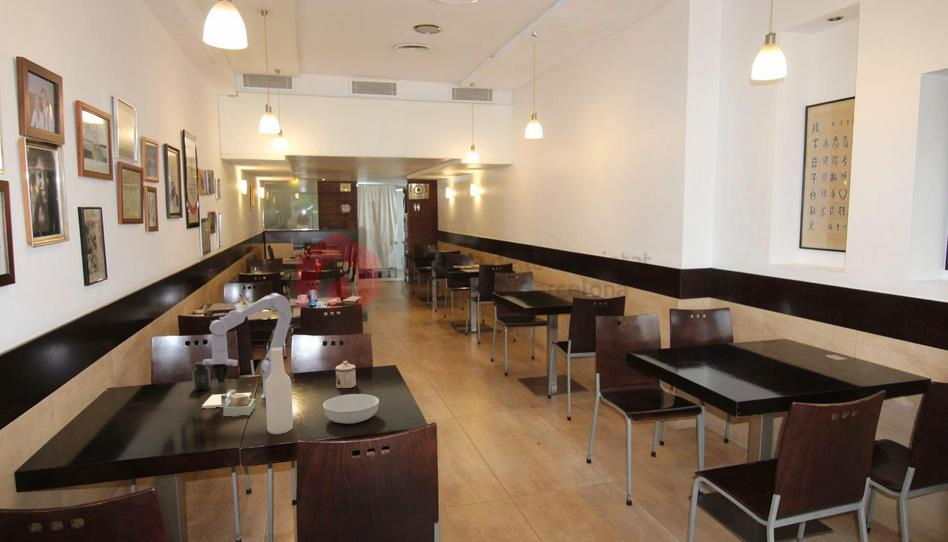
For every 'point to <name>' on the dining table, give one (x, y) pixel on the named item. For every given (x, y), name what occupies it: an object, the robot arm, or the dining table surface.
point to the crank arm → (227, 396)
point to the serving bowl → (351, 408)
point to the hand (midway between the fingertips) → (221, 382)
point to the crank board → (217, 401)
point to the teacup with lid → (345, 375)
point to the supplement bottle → (201, 377)
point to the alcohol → (278, 396)
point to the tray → (239, 409)
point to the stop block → (239, 400)
